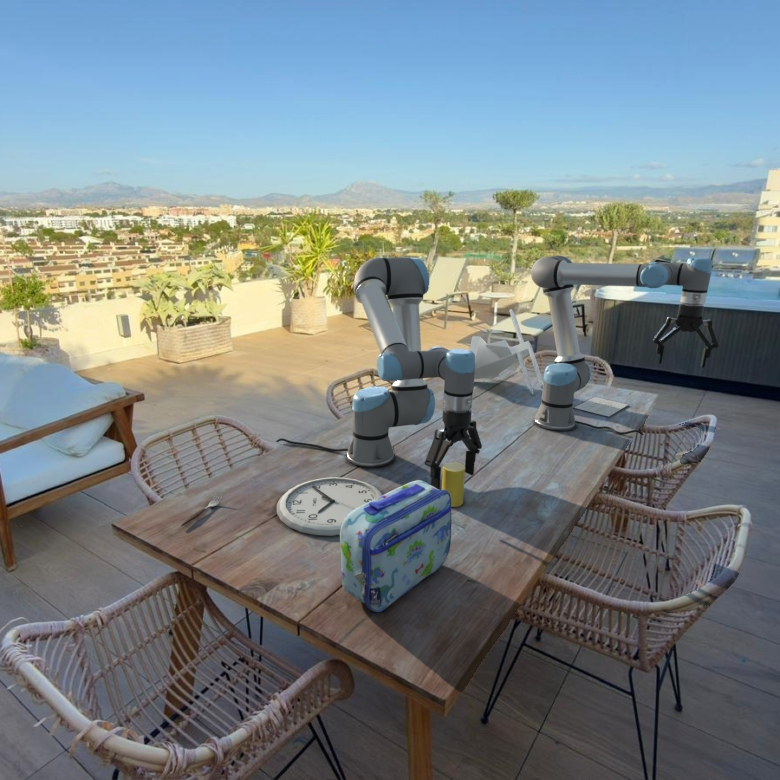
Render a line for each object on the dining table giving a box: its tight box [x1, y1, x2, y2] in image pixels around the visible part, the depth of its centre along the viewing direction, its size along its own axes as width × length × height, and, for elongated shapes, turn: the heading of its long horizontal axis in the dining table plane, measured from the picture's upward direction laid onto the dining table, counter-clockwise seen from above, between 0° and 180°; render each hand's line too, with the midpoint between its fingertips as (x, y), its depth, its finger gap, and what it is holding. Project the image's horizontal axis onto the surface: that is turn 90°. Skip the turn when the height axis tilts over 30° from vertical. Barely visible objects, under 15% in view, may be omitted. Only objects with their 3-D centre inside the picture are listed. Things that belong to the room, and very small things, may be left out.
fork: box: [180, 491, 225, 527], centre depth 138 cm, size 3×16×2 cm, turn 160°
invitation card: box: [573, 396, 629, 418], centre depth 226 cm, size 21×1×15 cm
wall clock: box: [276, 476, 385, 537], centre depth 142 cm, size 30×2×30 cm
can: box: [440, 461, 466, 508], centre depth 144 cm, size 6×6×11 cm
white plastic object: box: [469, 308, 544, 395], centre depth 252 cm, size 37×45×31 cm
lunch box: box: [339, 479, 452, 613], centre depth 109 cm, size 26×11×21 cm, turn 134°
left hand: (452, 480), depth 144 cm, fingers open, 13 cm apart
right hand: (680, 364), depth 185 cm, fingers open, 13 cm apart
